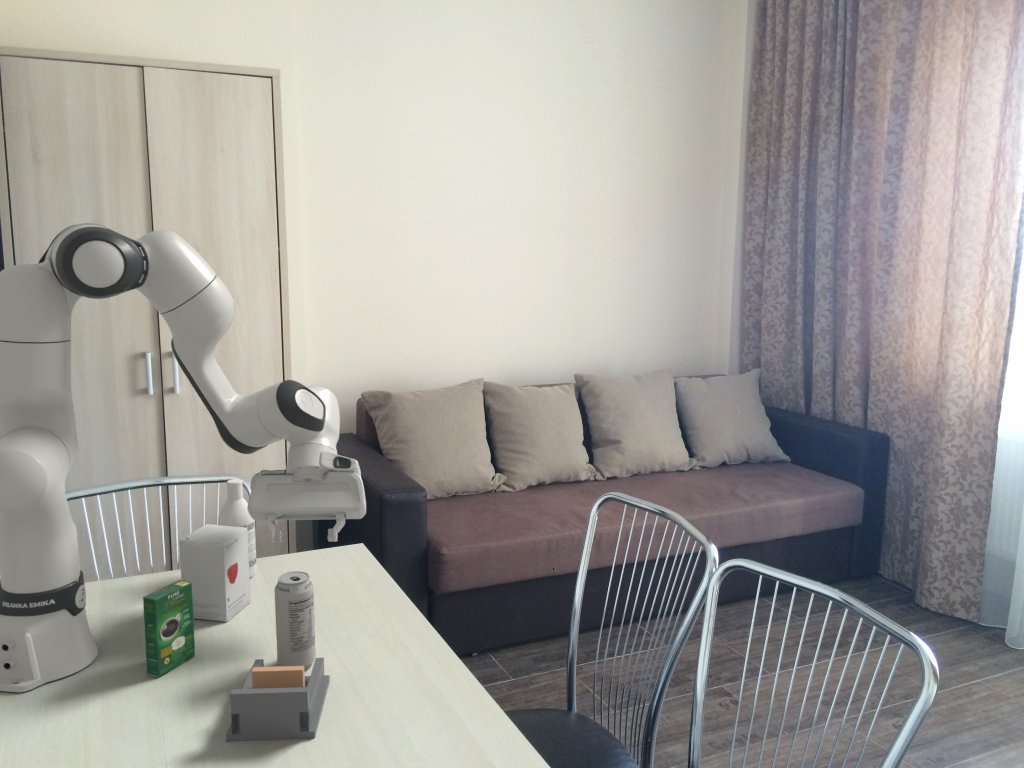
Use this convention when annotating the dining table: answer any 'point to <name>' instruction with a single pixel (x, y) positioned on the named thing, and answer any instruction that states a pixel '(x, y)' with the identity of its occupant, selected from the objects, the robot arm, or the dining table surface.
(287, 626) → the energy drink can
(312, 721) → the pusher lane
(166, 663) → the coffee box
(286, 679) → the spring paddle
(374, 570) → the dining table surface
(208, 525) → the supplement box
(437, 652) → the dining table surface
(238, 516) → the bath foam
